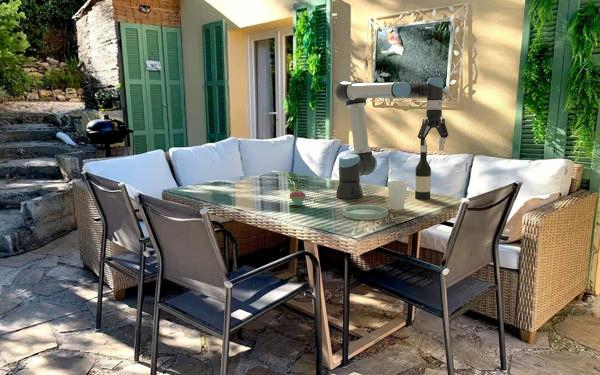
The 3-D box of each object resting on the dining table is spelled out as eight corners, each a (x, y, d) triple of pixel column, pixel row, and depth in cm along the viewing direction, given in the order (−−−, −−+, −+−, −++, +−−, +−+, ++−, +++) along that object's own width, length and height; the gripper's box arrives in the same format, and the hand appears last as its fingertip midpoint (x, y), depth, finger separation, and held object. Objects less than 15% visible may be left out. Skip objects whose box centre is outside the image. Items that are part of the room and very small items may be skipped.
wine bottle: (427, 200, 238) (429, 143, 233) (412, 199, 243) (413, 143, 238) (432, 197, 245) (433, 142, 240) (417, 196, 250) (418, 142, 245)
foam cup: (407, 210, 215) (407, 184, 213) (387, 210, 217) (387, 183, 215) (406, 206, 224) (406, 180, 222) (387, 206, 226) (387, 180, 224)
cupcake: (294, 206, 231) (293, 183, 229) (286, 203, 238) (286, 181, 236) (308, 204, 234) (308, 182, 232) (301, 201, 242) (300, 180, 240)
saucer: (335, 217, 206) (335, 211, 206) (353, 208, 223) (353, 203, 223) (377, 221, 196) (377, 216, 195) (393, 212, 213) (393, 207, 212)
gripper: (422, 109, 217) (421, 153, 220) (456, 108, 230) (454, 150, 233) (411, 109, 223) (409, 152, 227) (444, 108, 236) (443, 149, 240)
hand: (432, 151), depth 230 cm, fingers open, 13 cm apart
